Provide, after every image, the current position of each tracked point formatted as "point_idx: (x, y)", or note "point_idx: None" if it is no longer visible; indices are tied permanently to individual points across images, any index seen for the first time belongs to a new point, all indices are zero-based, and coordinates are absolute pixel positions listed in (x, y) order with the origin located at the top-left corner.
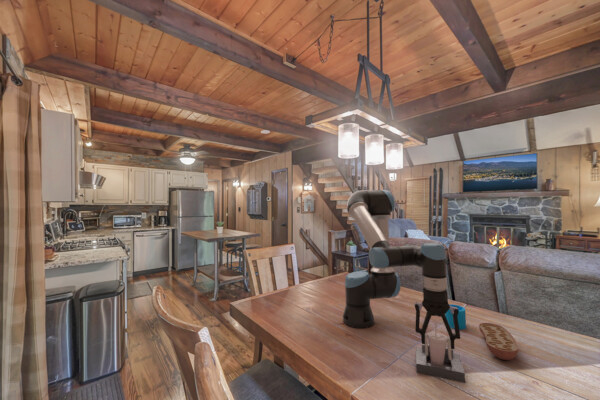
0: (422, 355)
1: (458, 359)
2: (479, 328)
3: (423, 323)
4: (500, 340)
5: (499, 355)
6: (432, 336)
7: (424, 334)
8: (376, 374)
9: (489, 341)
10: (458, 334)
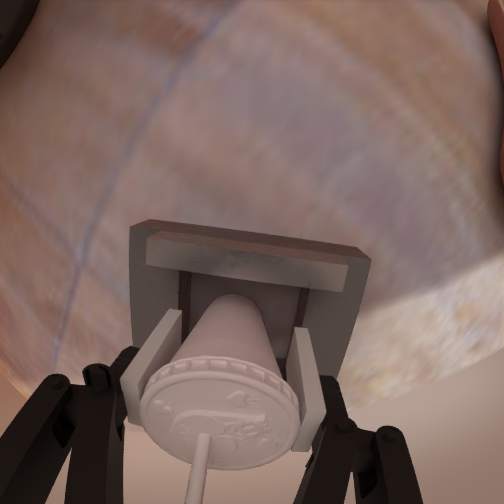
0: (159, 313)
1: (346, 312)
2: (493, 5)
3: (78, 453)
4: None
5: None
6: (178, 446)
7: (122, 428)
8: (53, 366)
9: None
10: (372, 486)
